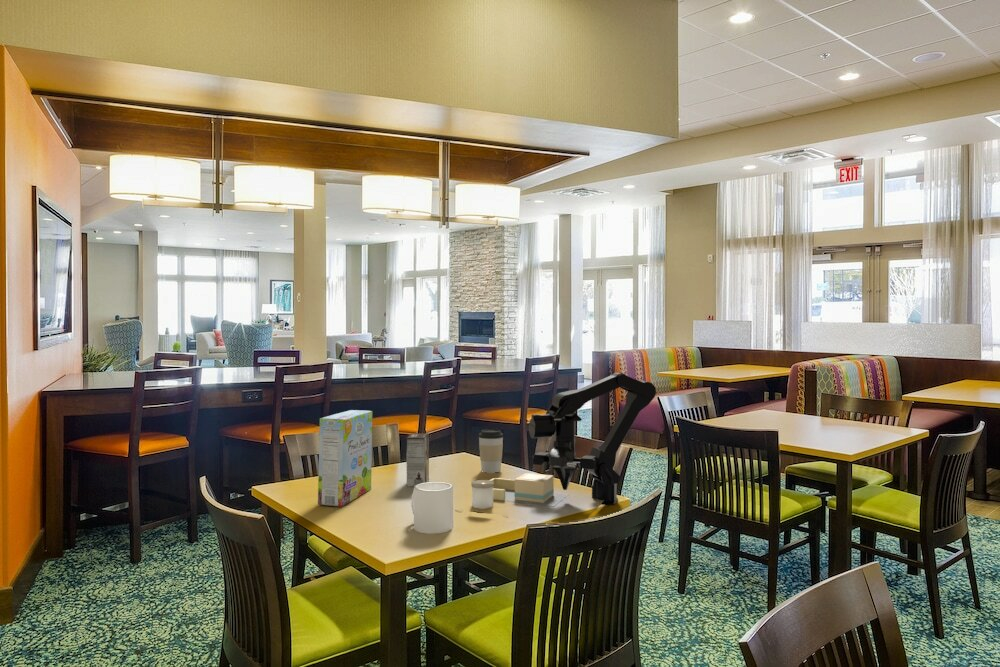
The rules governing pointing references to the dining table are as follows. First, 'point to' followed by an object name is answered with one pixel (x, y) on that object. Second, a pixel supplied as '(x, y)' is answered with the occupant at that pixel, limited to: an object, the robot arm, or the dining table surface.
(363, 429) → the snack box
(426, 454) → the coffee box
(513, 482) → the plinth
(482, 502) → the sugar jar
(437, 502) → the mug
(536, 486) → the carton
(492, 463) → the coffee cup
